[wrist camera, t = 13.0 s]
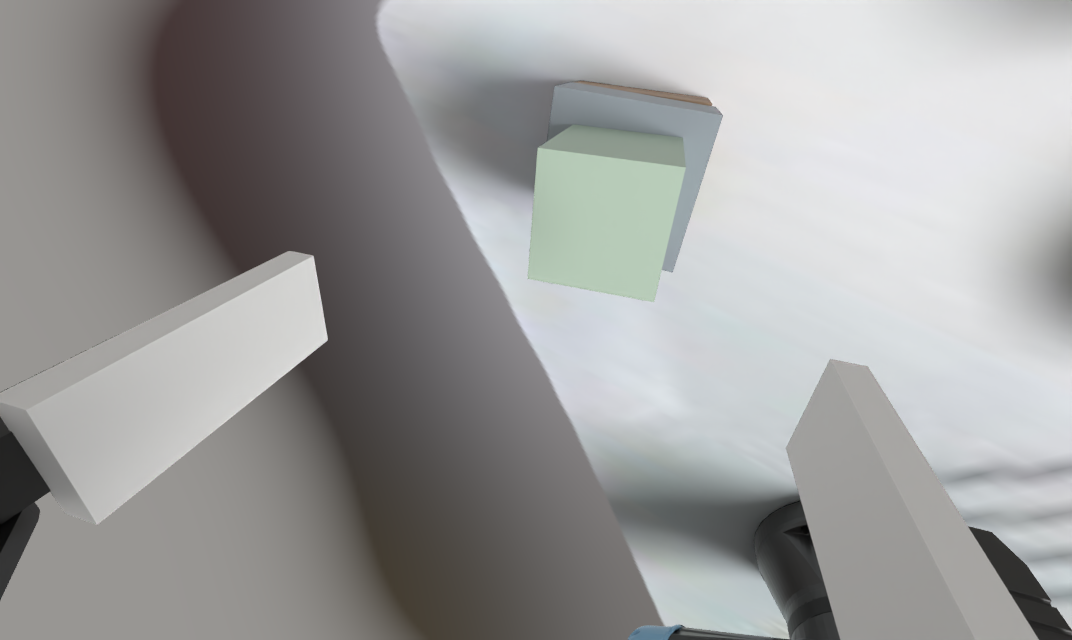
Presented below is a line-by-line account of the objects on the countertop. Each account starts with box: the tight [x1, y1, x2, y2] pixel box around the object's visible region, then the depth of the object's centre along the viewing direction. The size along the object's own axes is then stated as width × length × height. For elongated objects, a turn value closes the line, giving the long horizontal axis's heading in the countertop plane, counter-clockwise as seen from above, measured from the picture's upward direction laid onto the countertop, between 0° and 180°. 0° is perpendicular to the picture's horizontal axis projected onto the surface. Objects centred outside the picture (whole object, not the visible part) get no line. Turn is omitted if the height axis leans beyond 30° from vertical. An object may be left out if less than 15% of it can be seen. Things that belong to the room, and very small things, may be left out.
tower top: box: [547, 82, 723, 272], centre depth 29 cm, size 9×9×5 cm
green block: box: [528, 124, 686, 302], centre depth 24 cm, size 6×6×8 cm
